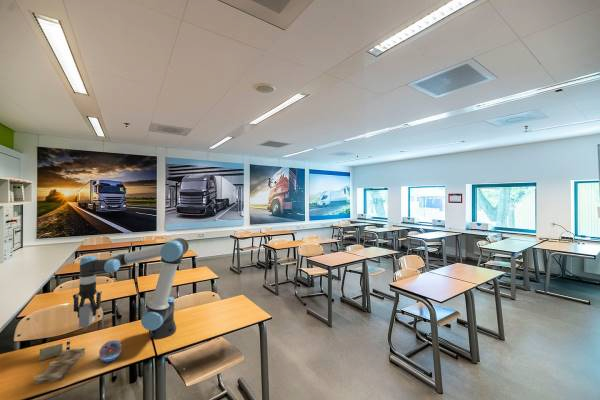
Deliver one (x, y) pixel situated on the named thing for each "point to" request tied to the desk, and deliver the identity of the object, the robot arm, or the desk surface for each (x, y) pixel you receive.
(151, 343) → the desk surface
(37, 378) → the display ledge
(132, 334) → the desk surface
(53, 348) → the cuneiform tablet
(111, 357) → the cell model
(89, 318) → the frame block
